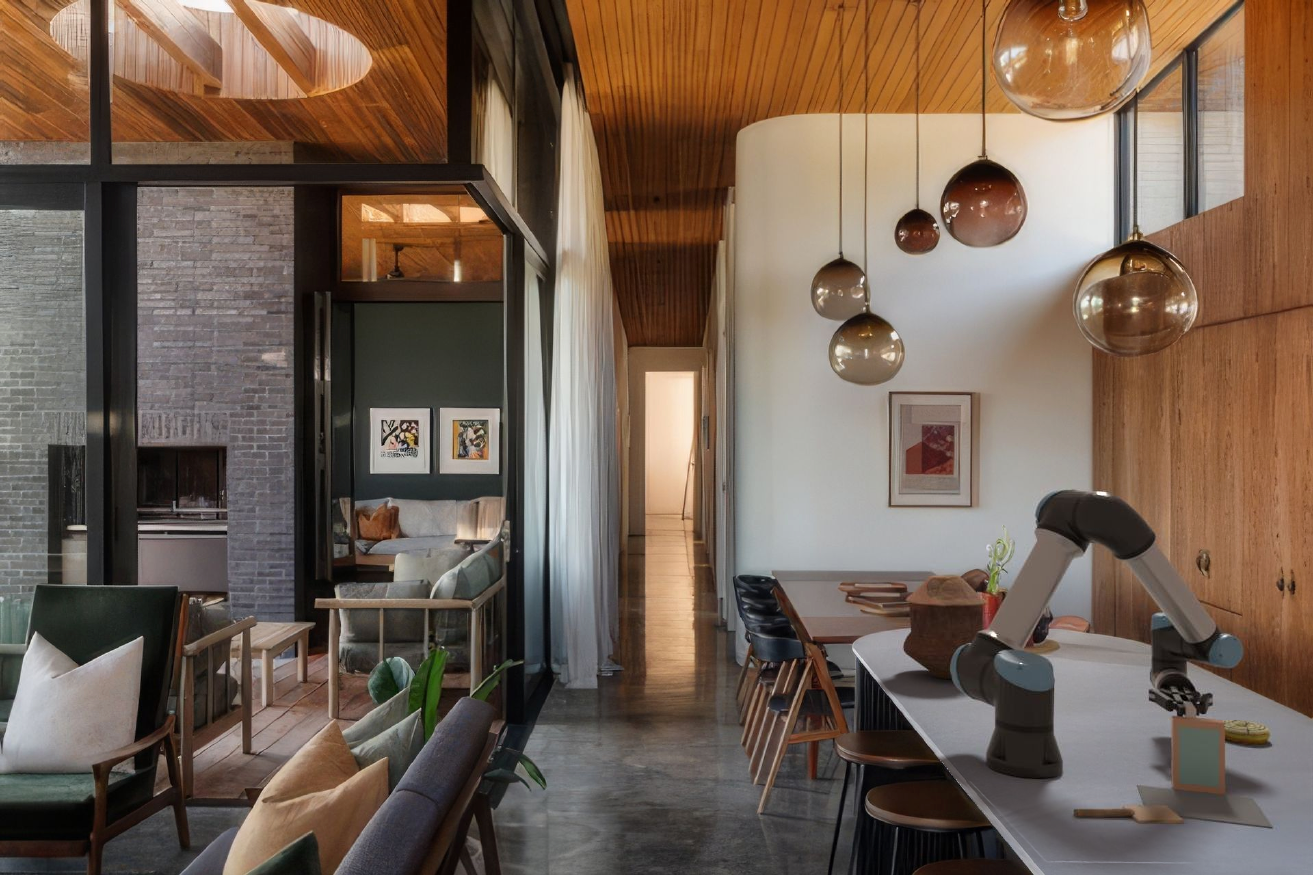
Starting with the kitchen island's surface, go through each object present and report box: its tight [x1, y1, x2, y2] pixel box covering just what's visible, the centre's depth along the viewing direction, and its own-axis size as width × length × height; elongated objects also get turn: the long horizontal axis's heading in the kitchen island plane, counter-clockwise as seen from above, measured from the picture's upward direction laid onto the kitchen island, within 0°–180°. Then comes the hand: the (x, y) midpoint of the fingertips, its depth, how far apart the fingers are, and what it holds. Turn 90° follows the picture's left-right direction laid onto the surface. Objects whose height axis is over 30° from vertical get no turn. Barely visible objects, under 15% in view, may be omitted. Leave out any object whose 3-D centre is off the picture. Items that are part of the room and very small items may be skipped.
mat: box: [1136, 784, 1274, 829], centre depth 185 cm, size 20×16×1 cm
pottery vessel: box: [902, 574, 989, 680], centre depth 295 cm, size 26×26×30 cm
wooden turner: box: [1073, 805, 1184, 824], centre depth 180 cm, size 18×6×1 cm, turn 90°
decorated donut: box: [1223, 719, 1271, 745], centre depth 231 cm, size 10×11×4 cm
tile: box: [1170, 715, 1226, 795], centre depth 195 cm, size 9×2×14 cm, turn 70°
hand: (1192, 715), depth 204 cm, fingers closed
